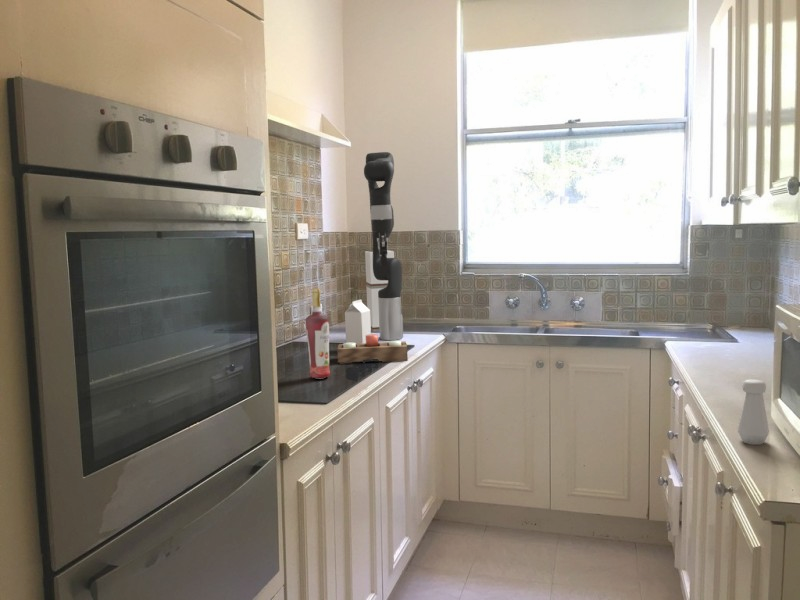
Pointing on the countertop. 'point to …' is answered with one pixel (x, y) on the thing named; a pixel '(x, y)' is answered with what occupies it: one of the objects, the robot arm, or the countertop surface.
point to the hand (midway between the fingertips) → (383, 266)
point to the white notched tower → (374, 289)
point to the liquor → (318, 339)
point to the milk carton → (357, 322)
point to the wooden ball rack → (373, 352)
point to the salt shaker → (753, 414)
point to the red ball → (372, 340)
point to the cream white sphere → (394, 343)
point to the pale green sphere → (349, 345)
